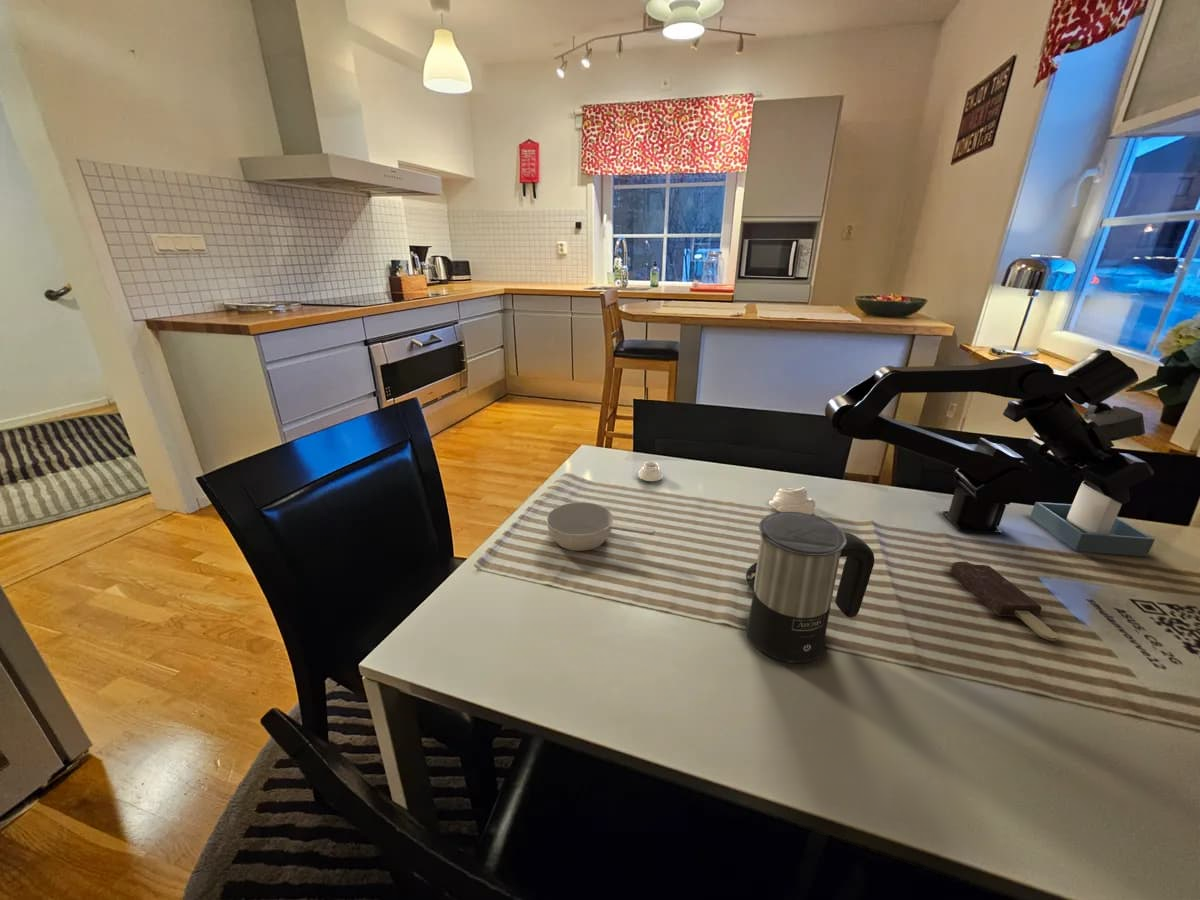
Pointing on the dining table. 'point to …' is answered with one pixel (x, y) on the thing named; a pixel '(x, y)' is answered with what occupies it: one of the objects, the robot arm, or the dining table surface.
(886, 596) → the dining table surface
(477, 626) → the dining table surface
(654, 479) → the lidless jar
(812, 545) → the milk frother
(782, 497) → the whipped cream
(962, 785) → the dining table surface
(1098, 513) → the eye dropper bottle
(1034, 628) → the ice cream bar
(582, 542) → the small pan
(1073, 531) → the blue-grey tray
